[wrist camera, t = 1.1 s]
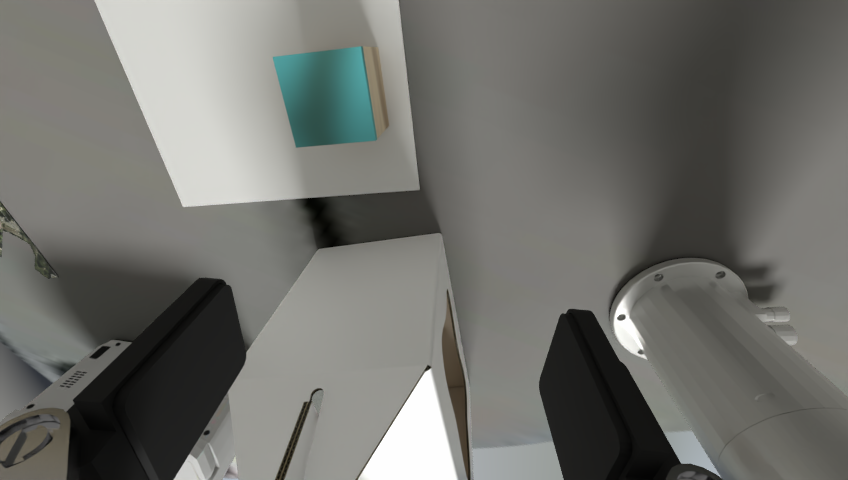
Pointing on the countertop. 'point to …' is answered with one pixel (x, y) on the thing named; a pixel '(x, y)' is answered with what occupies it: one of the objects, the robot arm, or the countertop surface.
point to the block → (333, 95)
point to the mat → (257, 95)
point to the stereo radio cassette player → (206, 457)
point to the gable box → (359, 372)
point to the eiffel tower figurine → (5, 222)
